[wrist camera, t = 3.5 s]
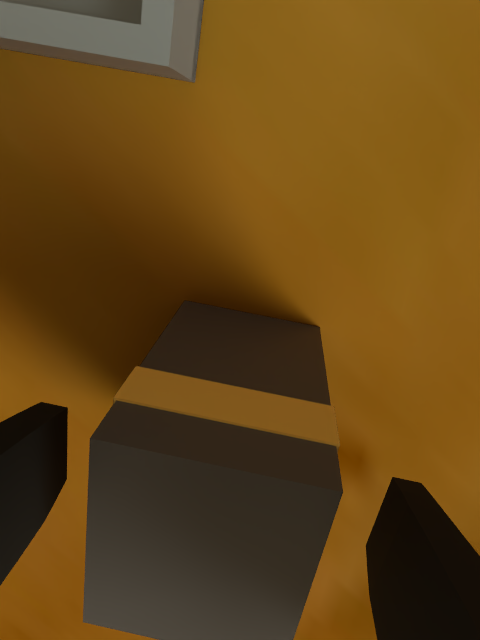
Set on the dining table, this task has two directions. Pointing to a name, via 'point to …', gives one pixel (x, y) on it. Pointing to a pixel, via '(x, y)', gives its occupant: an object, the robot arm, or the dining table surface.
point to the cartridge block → (213, 482)
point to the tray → (108, 33)
